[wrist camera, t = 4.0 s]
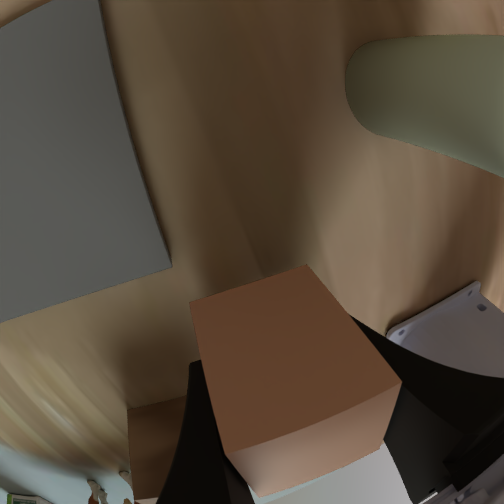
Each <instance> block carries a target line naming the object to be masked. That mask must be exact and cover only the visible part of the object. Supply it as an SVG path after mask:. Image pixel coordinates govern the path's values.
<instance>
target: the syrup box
mask: <svg viewBox="0 0 504 504" xmlns="http://www.w3.org/2000/svg"><path fill="white" fill-rule="evenodd" d="M7 504H52V503H50V502H48V501H46V500H45V499H43V498H41V497H39V496H35V497H31V496H22V495H14V494H7Z"/></svg>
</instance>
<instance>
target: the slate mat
mask: <svg viewBox="0 0 504 504" xmlns="http://www.w3.org/2000/svg"><path fill="white" fill-rule="evenodd" d="M171 267H172V260H171V257H170V254H169V252H168V249H167V246H166V243H165V240H164V238H163V235H162V232H161V229H160V226H159V223H158V220H157V217H156V214H155V211H154V208H153V205H152V202H151V199H150V196H149V193H148V190H147V187H146V184H145V180H144V177H143V174H142V171H141V168H140V164H139V161H138V158H137V154H136V151H135V147H134V144H133V140H132V137H131V133H130V130H129V126H128V122H127V119H126V115H125V111H124V107H123V104H122V100H121V96H120V92H119V88H118V84H117V80H116V75H115V71H114V67H113V62H112V58H111V53H110V49H109V44H108V39H107V34H106V29H105V24H104V19H103V13H102V8H101V2H100V0H52V1H50V2H48V3H46V4H44V5H42V6H40V7H38V8H36V9H34V10H32V11H30V12H28V13H26V14H24V15H22V16H20V17H19V18H17V19H15V20H13V21H11V22H10V23H8V24H6V25H5V26H3V27H1V28H0V323H1V322H4V321H7V320H10V319H13V318H16V317H19V316H22V315H25V314H28V313H31V312H34V311H38V310H41V309H44V308H47V307H50V306H53V305H56V304H59V303H62V302H65V301H68V300H71V299H74V298H77V297H81V296H84V295H87V294H90V293H93V292H96V291H99V290H102V289H105V288H108V287H112V286H115V285H118V284H121V283H124V282H127V281H130V280H134V279H137V278H140V277H143V276H146V275H149V274H152V273H156V272H159V271H162V270H165V269H168V268H171Z"/></svg>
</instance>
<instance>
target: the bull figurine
mask: <svg viewBox="0 0 504 504" xmlns="http://www.w3.org/2000/svg"><path fill="white" fill-rule="evenodd" d="M119 475H120V476H121V477H122V478H123V479H124V480H125V481H126V482H127V483H128V484H129V485H130V486H131V488H132V491H133V487H132V477H131V473H130V474H129V473H128V472H126V471H122V472H120V473H119ZM87 483H88V484H89V486H90V487H91V490H92V495H91V496H90V498H89V502H88V504H99V500H98V496H99V499H100V500H101V504H108V503H107V501H106V497H107V493H105V491H102V490H100V488H101V487H100V485H98V484H97V483H95V482H94V481H92V480H88V481H87ZM124 504H132V503H131V502H130V500H129V499H127V498H126V499H124ZM134 504H140V503H138V502H136V501H134Z"/></svg>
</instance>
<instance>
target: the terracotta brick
mask: <svg viewBox="0 0 504 504" xmlns="http://www.w3.org/2000/svg"><path fill="white" fill-rule="evenodd" d="M189 303H190V309H191V314H192V319H193V324H194V329H195V333H196V338H197V343H198V348H199V352H200V357H201V361H202V366H203V370H204V374H205V379H206V383H207V387H208V391H209V395H210V399H211V403H212V407H213V411H214V415H215V419H216V423H217V427H218V430H219V434H220V438H221V441H222V445H223V449H224V452H225V455H226V456H227V458H228V459H229V460H230V462H231V463H232V464H233V466H234V467H235V468H236V469H237V471H238V472H239V473H240V475H241V476H242V477H243V478H244V480H245V481H246V482H247V483H248V485H249V486H250V487H251V488H252V490H253V491H254V492H255V493H256V495H257V496H258V497H259V498H260V497H263V496H267V495H270V494H273V493H276V492H279V491H282V490H285V489H288V488H291V487H294V486H297V485H299V484H302V483H305V482H308V481H310V480H313V479H315V478H318V477H320V476H323V475H325V474H327V473H330V472H332V471H335V470H337V469H339V468H341V467H344V466H346V465H348V464H350V463H352V462H354V461H356V460H358V459H360V458H362V457H364V456H367V455H368V454H370V453H373V452H374V451H376V450H378V449H379V448H380V446H381V443H382V441H383V438H384V435H385V433H386V430H387V427H388V424H389V421H390V419H391V416H392V413H393V410H394V407H395V404H396V400H397V397H398V394H399V391H400V387H401V384H402V381H401V380H400V378H399V377H398V376H397V375H396V373H395V372H394V371H393V369H392V368H391V367H390V366H389V364H388V363H387V362H386V361H385V359H384V358H383V357H382V355H381V354H380V353H379V352H378V350H377V349H376V348H375V347H374V345H373V344H372V343H371V342H370V340H369V339H368V338H367V337H366V335H365V334H364V333H363V332H362V330H361V329H360V328H359V327H358V326H357V324H356V323H355V322H354V321H353V319H352V318H351V317H350V316H349V314H348V313H347V312H346V311H345V310H344V308H343V307H342V306H341V305H340V303H339V302H338V301H337V300H336V299H335V297H334V296H333V295H332V294H331V293H330V291H329V290H328V289H327V288H326V287H325V285H324V284H323V283H322V282H321V281H320V279H319V278H318V277H317V276H316V275H315V273H314V272H313V271H312V270H311V269H310V267H309V266H308V265H307V264H306V265H303V266H300V267H297V268H294V269H291V270H288V271H285V272H282V273H279V274H276V275H273V276H270V277H267V278H264V279H261V280H258V281H255V282H252V283H249V284H246V285H242V286H239V287H236V288H233V289H230V290H227V291H224V292H221V293H217V294H214V295H211V296H208V297H205V298H202V299H198V300H195V301H192V302H189Z"/></svg>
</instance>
